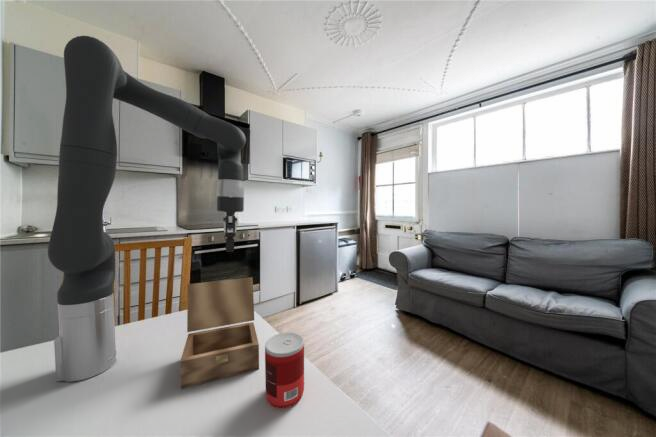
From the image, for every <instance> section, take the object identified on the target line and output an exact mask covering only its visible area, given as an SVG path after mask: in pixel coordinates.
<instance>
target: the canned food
mask: <svg viewBox="0 0 656 437" xmlns="http://www.w3.org/2000/svg"><path fill="white" fill-rule="evenodd" d="M264 363H265V364H264V368H265V370H264V371H265V372H264V374H265V377H264V378H265V397H266V400H267V403H268V404H269V405H270V406H271V407H273V408H276V409H287V408H290V407H293V406H294V405H297V403H298V402H299V401H300V400H301V399H302V397H303V395H304V391H305V341H304V338H303V336H302V335H301V334H299V333H295V332H280V333H278V334H275V335H273V336H271V337H269V338H268V339H267V340H266V342H265V346H264Z"/></svg>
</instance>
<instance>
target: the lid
mask: <svg viewBox="0 0 656 437" xmlns="http://www.w3.org/2000/svg"><path fill="white" fill-rule="evenodd" d="M254 304H255V303H254V280H253V276H251V277H242V278H233V279H232V278H231V279H223V280H215V281H206V282H204V281H203V282H195V283H189V284H187V313H186V314H187V315H186V316H187V322H186V325H187V327H186V332H187V333H193V332H198V331H204V330H210V329H215V328H221V327H226V326H232V325H234V324H235V325H238V324H243V323H249V322H254V321H255V306H254Z"/></svg>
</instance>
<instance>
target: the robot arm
mask: <svg viewBox="0 0 656 437" xmlns="http://www.w3.org/2000/svg"><path fill="white" fill-rule="evenodd" d="M63 61H64V62H63V63H64V64H63V65H64V76H65V77H64V78H65V89H66V90H65V104H64V105H65V106H64V112H63V118H62V127H61V128H62V129H61V137H60V145H59V154H58V157H59V158H58V178H57V179H58V180H57V195H56V196H57V198H56V201H57V202H56V211H55V218H54V222H53V226H52V230H51V234H50V238H49V241H48V247H47V257H48V260H49V262H50V264H51V265H53V267H54V268H55V269H57V270H58V271H60V272H64V273H63V280H62V283H61V285H60V286H59V288H58V289H57V294H56V295H57V296H56V301H57V315H58V330H59V331H58V332H59V335H58V336H57V337H55V339H54V340H53V344H54V363H55V380H56V381H55V382H61V381H63V382H68V383H69V382H70V383H71V382H78V381H83V380H84V381H85V380H87V379H90V378H92V377H96V376H97V375H99V374H101V373H104V372H105V371H107V370H108V369H110V368H111V367H113V365H115V363H116V362H117V346H116V345H117V343H116V323H115V322H116V320H115V303H114V302H115V301H114V300H115V298H114V284H115V282H116V281H115V279H116V248H115V247H116V246H115V242H114V239H113V238H112V236H111V235H110V234H108V233H107V232H105V231H103V212H104V208H105V204H106V201H107V199H108V196H109V194H110V192H111V190H112V187H113V184H114V182H115V178H116V172H117V163H118V162H117V159H118V158H117V157H118V144H117V143H118V142H117V136H116V134H117V133H116V130H115V122H114V117H113V116H114V115H113V103H114V102H113V101H114V99H115V100H118V101H120V102H123V103H126V104H128V105H131V106H134V107H136V108H139V109H141V110H143V111H145V112H147V113H150V114H152V115H155V116H156V117H158V118H160V119H162V120H164V121H166V122H169V123H170V124H172V125H174V126H176V127H178V128H179V129H182V130H183V131H185V132H187V133H190V134H191V135H194V136H195V137H197V138H200V139H209V140H210V141H213V142H215V143H216V147H217V149H216V150H217V158H218V159H217V160H218V168H217V185H216V186H217V187H216V211H217V212H222V213H223V212H224V213H226V214H225V217H223V218H222V224H223V232H224V233H225V234H224V238H225V252H226V253H233V252H234V251H235V238H236V233H237V230H238V229H237V226H238V217H237V216H236V215H235V214H236V213H242V212H244V211H245V210H244V209H245V203H244V202H245V188H244V186H245V185H244V166H243V163H242V156H241V155H242V149H244V147H245V146H246V142H247V138H246V134H245V133H244V132H243V131H242V129H240V128H239V127H237V126H236V125H234V124H233V123H231V122H228V121H226V120H223V119H220V118H218V117H215V116H212V115H210V114H208V113H206V112H205V111H204V110H202V109H200V108H199V107H196V106H194V105H193V104H192V103H189V102H187V101H185V100H183V99H181V98H178V97H176V96H173V95H169V94H168V93H163V92H162V91H158V90H157V89H156V90H155V89H154V88H152V87H150V86H148V85H146V84H145V83H142V82H141V81H139V80H138V79H136V78H135V77H134V76H132V75H130V74H129V73H128V72H126V71H125V70H124V69H123V67H122V64H121V61H120V59H119V57H118V56H117V55H116V53H115V52H114V51H113V50H112V49H111V47H109V45H107V44H106V43H105V42H104V41H102V40H100V39H98V38H97V37H93V36H90V35H78V36H77V35H76V36H75V37H73V38H71V39H70V40H69V41H67V43H66V44H65V46H64V50H63Z"/></svg>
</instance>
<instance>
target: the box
mask: <svg viewBox="0 0 656 437" xmlns="http://www.w3.org/2000/svg"><path fill="white" fill-rule="evenodd" d="M259 346H260V343H259V339H258V335H257V330H256V327H255V323H254V321H250V322H244V323H239V324H235V325H234V324H233V325H228V326H222V327H217V328H211V329H206V330H200V331H195V332H189V333H188V334H187V337H186V341H185V345H184V346H183V347H184V348H183V352H182V354H181V358H180V361H179V364H180V365H179V366H180V367H179V370H180V390H182V389H185V388H190V387H194V386H198V385H202V384H206V383H210V382H213V381H214V382H215V381H218V380H222V379H226V378H229V377H233V376H237V375H240V374H245V373H248V372H252V371H257V370H259V369H260V347H259Z"/></svg>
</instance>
